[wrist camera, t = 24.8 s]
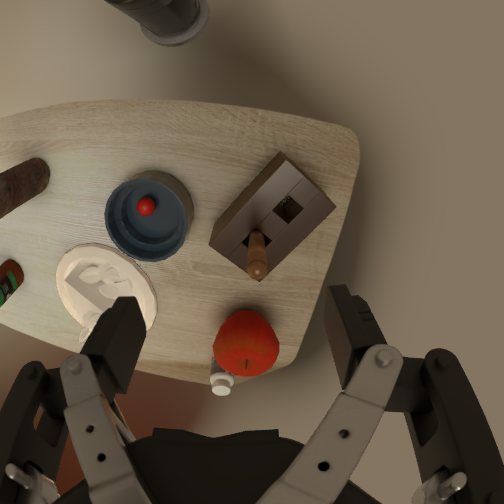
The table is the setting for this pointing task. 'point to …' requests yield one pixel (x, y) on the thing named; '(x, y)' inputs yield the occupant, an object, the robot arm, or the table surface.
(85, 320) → the dish
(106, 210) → the bowl
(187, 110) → the table surface
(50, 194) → the table surface
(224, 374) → the pill bottle
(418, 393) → the robot arm
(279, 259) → the stand
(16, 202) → the brown tall cylinder
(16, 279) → the bottle
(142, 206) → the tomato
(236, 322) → the apple
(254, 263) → the stick
